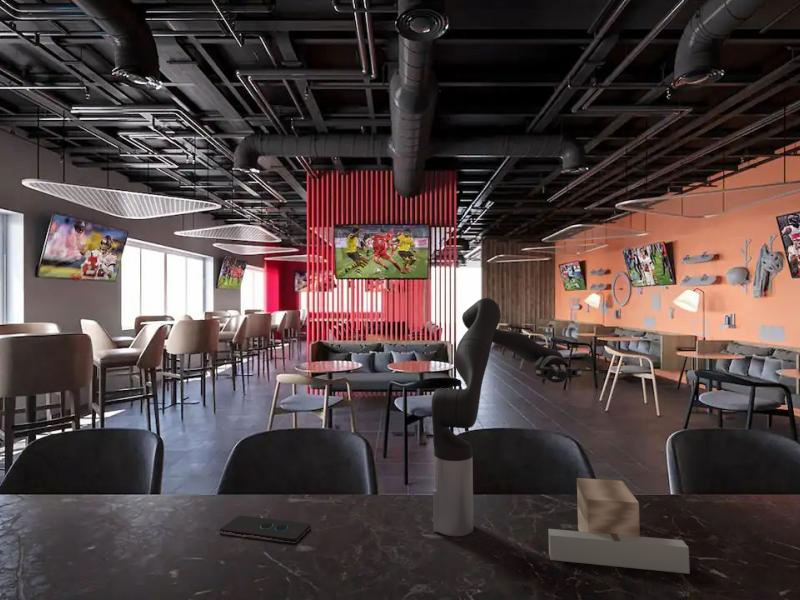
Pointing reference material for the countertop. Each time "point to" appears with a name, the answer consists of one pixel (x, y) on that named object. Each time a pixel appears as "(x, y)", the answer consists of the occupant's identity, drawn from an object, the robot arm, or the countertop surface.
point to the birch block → (607, 507)
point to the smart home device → (267, 528)
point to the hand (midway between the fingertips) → (562, 375)
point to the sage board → (619, 550)
